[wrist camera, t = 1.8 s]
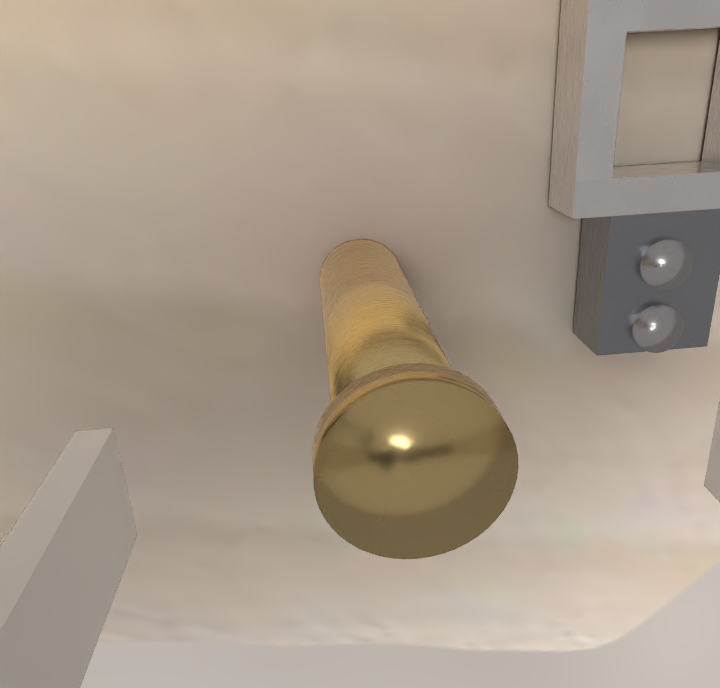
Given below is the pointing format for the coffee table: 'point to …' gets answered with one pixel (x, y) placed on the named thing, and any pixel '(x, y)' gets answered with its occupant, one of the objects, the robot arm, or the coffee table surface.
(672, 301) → the chain joint
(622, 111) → the coffee table surface
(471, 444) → the pin
